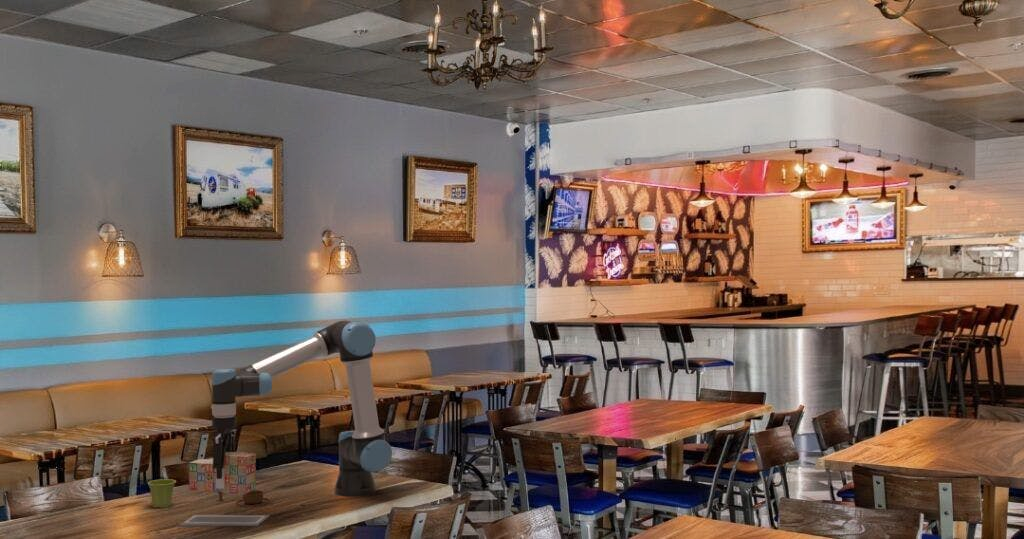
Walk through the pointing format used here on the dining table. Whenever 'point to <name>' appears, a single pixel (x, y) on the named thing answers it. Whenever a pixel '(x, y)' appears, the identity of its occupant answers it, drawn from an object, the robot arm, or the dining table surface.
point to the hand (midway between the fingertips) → (224, 485)
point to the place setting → (250, 499)
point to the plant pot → (161, 492)
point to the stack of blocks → (236, 474)
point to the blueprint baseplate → (224, 520)
